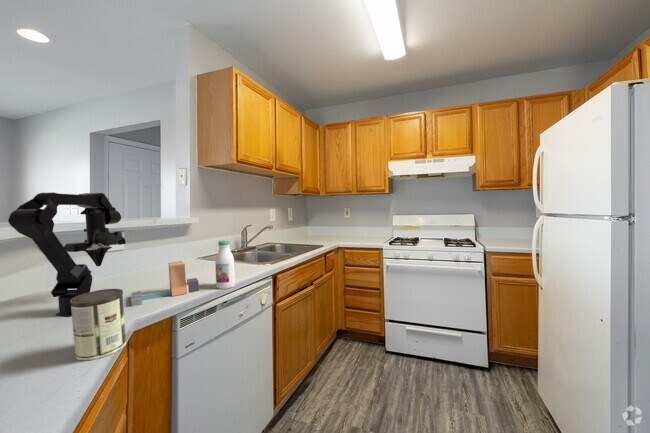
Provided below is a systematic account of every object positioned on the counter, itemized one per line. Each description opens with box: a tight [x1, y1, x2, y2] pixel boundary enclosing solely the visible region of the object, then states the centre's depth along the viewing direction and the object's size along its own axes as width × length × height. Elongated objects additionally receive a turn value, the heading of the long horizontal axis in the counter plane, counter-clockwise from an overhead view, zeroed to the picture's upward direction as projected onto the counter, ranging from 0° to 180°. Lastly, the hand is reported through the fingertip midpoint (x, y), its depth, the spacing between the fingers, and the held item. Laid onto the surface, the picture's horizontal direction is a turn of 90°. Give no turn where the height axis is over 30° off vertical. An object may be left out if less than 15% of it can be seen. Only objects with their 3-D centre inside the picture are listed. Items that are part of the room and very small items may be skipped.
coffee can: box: [70, 288, 127, 361], centre depth 70 cm, size 10×10×14 cm
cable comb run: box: [131, 277, 200, 307], centre depth 111 cm, size 23×12×4 cm, turn 125°
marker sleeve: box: [168, 260, 187, 297], centre depth 113 cm, size 5×7×12 cm
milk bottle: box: [215, 239, 236, 290], centre depth 120 cm, size 8×8×20 cm
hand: (98, 266), depth 107 cm, fingers closed
